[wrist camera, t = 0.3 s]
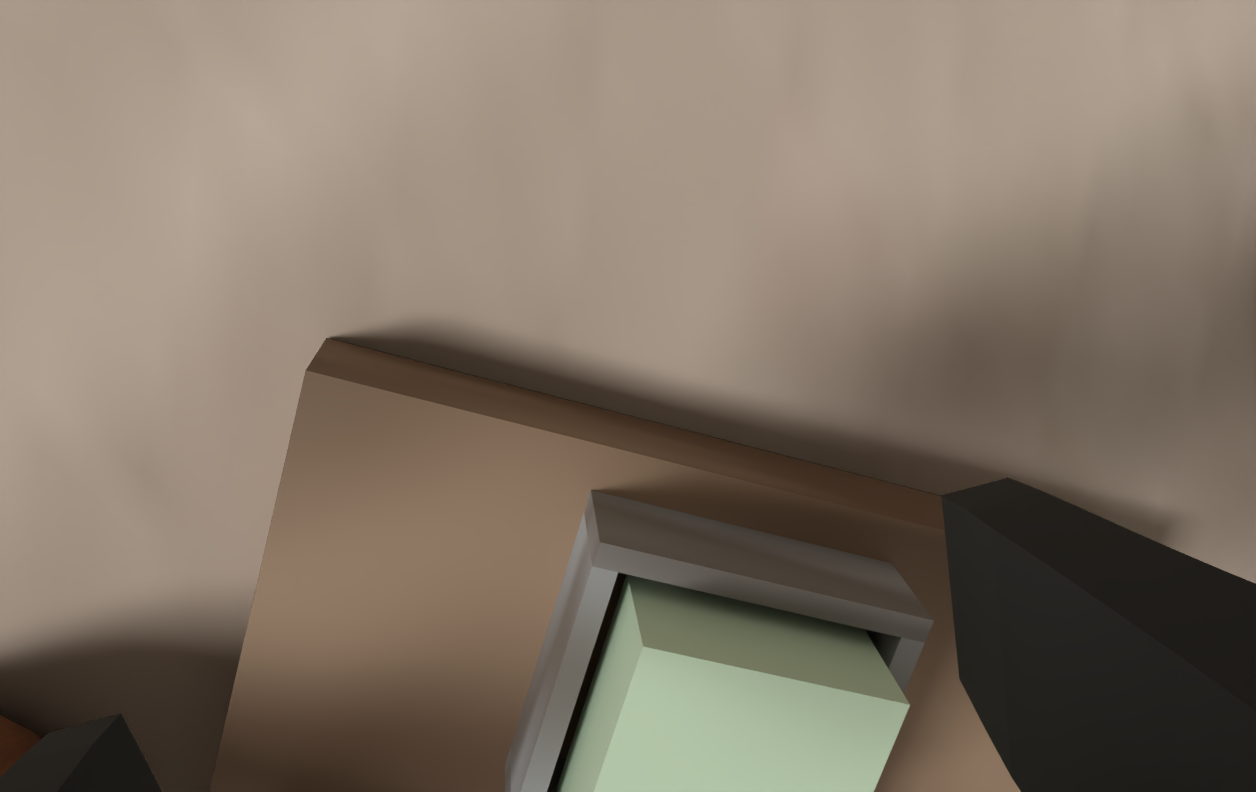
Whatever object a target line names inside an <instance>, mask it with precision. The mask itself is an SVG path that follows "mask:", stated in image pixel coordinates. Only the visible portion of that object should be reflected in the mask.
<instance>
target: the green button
mask: <svg viewBox="0 0 1256 792" xmlns="http://www.w3.org/2000/svg"><path fill="white" fill-rule="evenodd" d="M909 707H910V704H909V702H908V700H907V699H906V697H905V696H904V694H903V692H902V691H901V689H900V687H899V686H898V684H897V682H896V681H895V679H894V677H893V676H892V674H891V672H890V671H889V669H888V667H887V666H886V664H885V663H884V661H883V659H882V658H881V656H880V654H879V653H878V651H877V649H876V648H875V646H874V644H873V643H872V641H871V639H870V638H869V636H868V634H867V633H866V631H865V630H864V629H862V628H858V627H853V626H849V625H845V624H840V623H836V622H832V621H827V620H823V619H819V618H814V617H810V616H806V615H801V614H797V613H793V612H788V611H784V610H780V609H775V608H771V607H767V606H762V605H758V604H754V603H749V602H745V601H741V600H736V599H732V598H728V597H723V596H719V595H715V594H710V593H706V592H702V591H697V590H693V589H689V588H684V587H680V586H675V585H671V584H667V583H662V582H658V581H654V580H649V579H645V578H641V577H636V576H632V575H628V574H627V575H626V578H625V581H624V584H623V587H622V590H621V593H620V596H619V599H618V602H617V606H616V609H615V612H614V615H613V618H612V621H611V624H610V627H609V630H608V633H607V636H606V639H605V642H604V645H603V648H602V651H601V654H600V657H599V660H598V663H597V667H596V670H595V673H594V676H593V679H592V682H591V685H590V688H589V691H588V694H587V697H586V700H585V703H584V706H583V709H582V712H581V715H580V718H579V721H578V724H577V727H576V731H575V734H574V737H573V740H572V743H571V746H570V749H569V752H568V755H567V758H566V761H565V764H564V767H563V770H562V773H561V776H560V779H559V782H558V785H557V792H874V790H875V788H876V785H877V783H878V781H879V778H880V776H881V773H882V771H883V769H884V766H885V764H886V761H887V759H888V757H889V754H890V752H891V749H892V747H893V745H894V742H895V740H896V738H897V735H898V733H899V730H900V728H901V726H902V723H903V721H904V718H905V716H906V714H907V711H908V709H909Z"/></svg>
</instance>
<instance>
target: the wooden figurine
mask: <svg viewBox="0 0 1256 792" xmlns="http://www.w3.org/2000/svg"><path fill="white" fill-rule="evenodd" d="M40 740H41V738H40V737H39V736H38V735H37V734H36V733H34V732H32V731H30V730H28V729H26V728H24V727H22V726H20V725H19V724H17V723H15V722H13V721H11V720H9V719H7V718H5V717H3V716H1V715H0V777H1V776H2V775H3V774H4V773H5V772H6V771H7V770H8V769H9V768H10V767H11V766H12V765H14V764H15V763H16V762H17V761H18V760H19V759H20V758H21V757H22V756H23V755H24V754H25V753H26V752H27V751H28V750H30V749H31V748H32V747H33V746H34V745H35V744H36V743H37V742H39V741H40Z"/></svg>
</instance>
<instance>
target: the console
mask: <svg viewBox="0 0 1256 792" xmlns="http://www.w3.org/2000/svg"><path fill="white" fill-rule="evenodd" d="M627 574H628V575H632V576H636V577H641V578H645V579H649V580H654V581H658V582H662V583H667V584H671V585H675V586H680V587H684V588H689V589H693V590H697V591H702V592H706V593H710V594H715V595H719V596H723V597H728V598H732V599H736V600H741V601H745V602H749V603H754V604H758V605H762V606H767V607H771V608H775V609H780V610H784V611H788V612H793V613H797V614H801V615H806V616H810V617H814V618H819V619H823V620H827V621H832V622H836V623H840V624H845V625H849V626H853V627H858V628H862V629H864V630H865V631H866V633H867V634H868V636H869V638H870V639H871V641H872V643H873V644H874V646H875V648H876V649H877V651H878V653H879V654H880V656H881V658H882V659H883V661H884V663H885V664H886V666H887V667H888V669H889V671H890V672H891V674H892V676H893V677H894V679H895V681H896V682H897V684H898V686H899V687H900V689H901V691H902V692H903V694H904V696H905V697H906V699H907V700H908V702H909V704H910V707H909V709H908V711H907V714H906V716H905V718H904V721H903V723H902V726H901V728H900V730H899V733H898V735H897V738H896V740H895V742H894V745H893V747H892V749H891V752H890V754H889V757H888V759H887V761H886V764H885V766H884V769H883V771H882V773H881V776H880V778H879V781H878V783H877V785H876V788H875V790H874V792H1021V791H1020V789H1019V788H1018V786H1017V785H1016V783H1015V782H1014V780H1013V779H1012V777H1011V776H1010V774H1009V772H1008V770H1007V768H1006V766H1005V765H1004V763H1003V761H1002V759H1001V757H1000V755H999V754H998V752H997V750H996V748H995V746H994V744H993V743H992V741H991V739H990V737H989V735H988V733H987V731H986V730H985V728H984V726H983V724H982V722H981V720H980V718H979V716H978V714H977V712H976V710H975V708H974V706H973V704H972V702H971V700H970V698H969V697H968V695H967V693H966V691H965V689H964V687H963V685H962V683H961V681H960V679H959V671H958V660H957V650H956V640H955V630H954V619H953V609H952V599H951V589H950V578H949V568H948V558H947V548H946V537H945V527H944V517H943V507H942V497H941V496H939V495H935V494H931V493H927V492H923V491H919V490H916V489H912V488H908V487H904V486H900V485H896V484H892V483H888V482H884V481H881V480H877V479H873V478H869V477H865V476H861V475H857V474H853V473H849V472H846V471H842V470H838V469H834V468H830V467H826V466H822V465H818V464H815V463H811V462H807V461H803V460H799V459H795V458H791V457H787V456H783V455H780V454H776V453H772V452H768V451H764V450H760V449H756V448H752V447H748V446H745V445H741V444H737V443H733V442H729V441H725V440H721V439H717V438H713V437H710V436H706V435H702V434H698V433H694V432H690V431H686V430H682V429H679V428H675V427H671V426H667V425H663V424H659V423H655V422H651V421H647V420H644V419H640V418H636V417H632V416H628V415H624V414H620V413H616V412H612V411H609V410H605V409H601V408H597V407H593V406H589V405H585V404H581V403H577V402H574V401H570V400H566V399H562V398H558V397H554V396H550V395H546V394H543V393H539V392H535V391H531V390H527V389H523V388H519V387H515V386H511V385H508V384H504V383H500V382H496V381H492V380H488V379H484V378H480V377H476V376H473V375H469V374H465V373H461V372H457V371H453V370H449V369H445V368H441V367H438V366H434V365H430V364H426V363H422V362H418V361H414V360H410V359H407V358H403V357H399V356H395V355H391V354H387V353H383V352H379V351H375V350H372V349H368V348H364V347H360V346H356V345H352V344H348V343H344V342H340V341H337V340H333V339H329V338H326V340H325V341H324V343H323V344H322V346H321V348H320V349H319V351H318V352H317V354H316V355H315V357H314V358H313V360H312V362H311V363H310V365H309V366H308V368H307V369H306V372H305V376H304V380H303V385H302V389H301V393H300V398H299V402H298V406H297V411H296V415H295V420H294V424H293V428H292V433H291V437H290V441H289V446H288V450H287V454H286V459H285V463H284V468H283V472H282V476H281V481H280V485H279V489H278V494H277V498H276V502H275V507H274V511H273V516H272V520H271V524H270V529H269V533H268V537H267V542H266V546H265V550H264V555H263V559H262V564H261V568H260V572H259V577H258V581H257V585H256V590H255V594H254V598H253V603H252V607H251V612H250V616H249V620H248V625H247V629H246V633H245V638H244V642H243V646H242V651H241V655H240V660H239V664H238V668H237V673H236V677H235V681H234V686H233V690H232V694H231V699H230V703H229V708H228V712H227V716H226V721H225V725H224V729H223V734H222V738H221V742H220V747H219V751H218V756H217V760H216V764H215V769H214V773H213V777H212V782H211V786H210V790H209V792H557V785H558V782H559V779H560V776H561V773H562V770H563V767H564V764H565V761H566V758H567V755H568V752H569V749H570V746H571V743H572V740H573V737H574V734H575V731H576V727H577V724H578V721H579V718H580V715H581V712H582V709H583V706H584V703H585V700H586V697H587V694H588V691H589V688H590V685H591V682H592V679H593V676H594V673H595V670H596V667H597V663H598V660H599V657H600V654H601V651H602V648H603V645H604V642H605V639H606V636H607V633H608V630H609V627H610V624H611V621H612V618H613V615H614V612H615V609H616V606H617V602H618V599H619V596H620V593H621V590H622V587H623V584H624V581H625V578H626V575H627Z"/></svg>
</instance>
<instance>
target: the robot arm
mask: <svg viewBox="0 0 1256 792" xmlns="http://www.w3.org/2000/svg"><path fill="white" fill-rule="evenodd" d="M941 497H942V507H943V517H944V527H945V537H946V548H947V558H948V568H949V578H950V589H951V599H952V609H953V619H954V630H955V640H956V650H957V660H958V671H959V679H960V681H961V683H962V685H963V687H964V689H965V691H966V693H967V695H968V697H969V698H970V700H971V702H972V704H973V706H974V708H975V710H976V712H977V714H978V716H979V718H980V720H981V722H982V724H983V726H984V728H985V730H986V731H987V733H988V735H989V737H990V739H991V741H992V743H993V744H994V746H995V748H996V750H997V752H998V754H999V755H1000V757H1001V759H1002V761H1003V763H1004V765H1005V766H1006V768H1007V770H1008V772H1009V774H1010V776H1011V777H1012V779H1013V780H1014V782H1015V783H1016V785H1017V786H1018V788H1019V789H1020V791H1021V792H1256V584H1255V583H1252V582H1250V581H1247V580H1245V579H1242V578H1240V577H1238V576H1235V575H1233V574H1230V573H1228V572H1226V571H1223V570H1221V569H1218V568H1216V567H1214V566H1211V565H1209V564H1206V563H1204V562H1202V561H1199V560H1197V559H1195V558H1192V557H1190V556H1188V555H1185V554H1183V553H1181V552H1178V551H1176V550H1174V549H1171V548H1169V547H1167V546H1165V545H1162V544H1160V543H1158V542H1155V541H1153V540H1151V539H1149V538H1146V537H1144V536H1142V535H1140V534H1137V533H1135V532H1133V531H1131V530H1128V529H1126V528H1124V527H1122V526H1119V525H1117V524H1115V523H1113V522H1110V521H1108V520H1106V519H1104V518H1101V517H1099V516H1097V515H1095V514H1092V513H1090V512H1088V511H1086V510H1083V509H1081V508H1079V507H1077V506H1074V505H1072V504H1070V503H1068V502H1065V501H1063V500H1061V499H1059V498H1056V497H1054V496H1052V495H1049V494H1047V493H1045V492H1042V491H1040V490H1038V489H1035V488H1033V487H1030V486H1028V485H1025V484H1023V483H1020V482H1018V481H1015V480H1012V479H1010V478H1006V479H1002V480H999V481H995V482H991V483H987V484H983V485H980V486H976V487H972V488H968V489H965V490H961V491H957V492H953V493H950V494H946V495H942V496H941ZM0 792H162V791H161V789H160V787H159V785H158V783H157V781H156V780H155V778H154V776H153V774H152V772H151V770H150V768H149V766H148V764H147V762H146V760H145V759H144V757H143V755H142V753H141V751H140V749H139V747H138V745H137V743H136V741H135V739H134V738H133V736H132V734H131V732H130V730H129V728H128V726H127V724H126V722H125V720H124V718H123V717H122V715H121V713H120V714H117V715H113V716H109V717H105V718H102V719H98V720H94V721H90V722H86V723H83V724H79V725H75V726H71V727H68V728H64V729H60V730H56V731H53V732H49V733H48V734H47V735H45V736H44V737H43V738H42V739H41V740H40V741H39V742H37V743H36V744H35V745H34V746H33V747H32V748H31V749H30V750H28V751H27V752H26V753H25V754H24V755H23V756H22V757H21V758H20V759H19V760H18V761H17V762H16V763H15V764H14V765H12V766H11V767H10V768H9V769H8V770H7V771H6V772H5V773H4V774H3V775H2V776H1V777H0Z"/></svg>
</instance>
